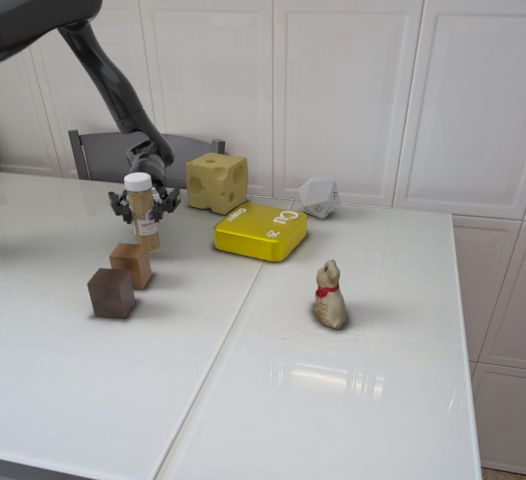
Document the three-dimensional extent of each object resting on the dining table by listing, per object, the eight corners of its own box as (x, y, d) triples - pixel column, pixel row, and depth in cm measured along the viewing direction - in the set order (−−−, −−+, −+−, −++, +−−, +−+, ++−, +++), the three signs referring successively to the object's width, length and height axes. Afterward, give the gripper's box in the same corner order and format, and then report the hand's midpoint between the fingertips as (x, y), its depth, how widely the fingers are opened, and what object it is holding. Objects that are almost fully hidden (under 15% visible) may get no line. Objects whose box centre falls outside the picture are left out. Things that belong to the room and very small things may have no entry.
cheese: (225, 216, 110) (222, 170, 103) (185, 206, 114) (181, 162, 108) (249, 200, 117) (248, 157, 111) (211, 192, 121) (208, 149, 115)
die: (302, 226, 107) (333, 193, 101) (283, 195, 109) (312, 160, 103) (325, 228, 113) (356, 197, 107) (306, 199, 116) (335, 166, 109)
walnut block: (94, 316, 79) (86, 283, 75) (106, 299, 83) (99, 267, 79) (125, 318, 78) (118, 286, 75) (135, 301, 82) (129, 269, 78)
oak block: (115, 287, 86) (108, 256, 82) (125, 273, 90) (119, 242, 86) (143, 289, 85) (137, 258, 82) (152, 275, 89) (147, 244, 85)
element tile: (245, 220, 108) (244, 198, 105) (309, 232, 103) (310, 210, 100) (210, 248, 97) (209, 225, 94) (280, 264, 92) (281, 240, 89)
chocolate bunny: (349, 303, 82) (356, 248, 76) (343, 330, 76) (350, 273, 70) (316, 299, 83) (320, 244, 77) (307, 325, 77) (311, 268, 71)
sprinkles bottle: (153, 254, 91) (141, 182, 83) (131, 250, 92) (118, 178, 84) (165, 243, 94) (155, 173, 86) (144, 239, 96) (132, 170, 87)
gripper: (107, 165, 97) (96, 199, 84) (180, 162, 98) (181, 195, 85) (114, 202, 102) (105, 240, 88) (184, 199, 103) (185, 235, 90)
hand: (142, 218), depth 87 cm, fingers closed on sprinkles bottle, 4 cm apart
